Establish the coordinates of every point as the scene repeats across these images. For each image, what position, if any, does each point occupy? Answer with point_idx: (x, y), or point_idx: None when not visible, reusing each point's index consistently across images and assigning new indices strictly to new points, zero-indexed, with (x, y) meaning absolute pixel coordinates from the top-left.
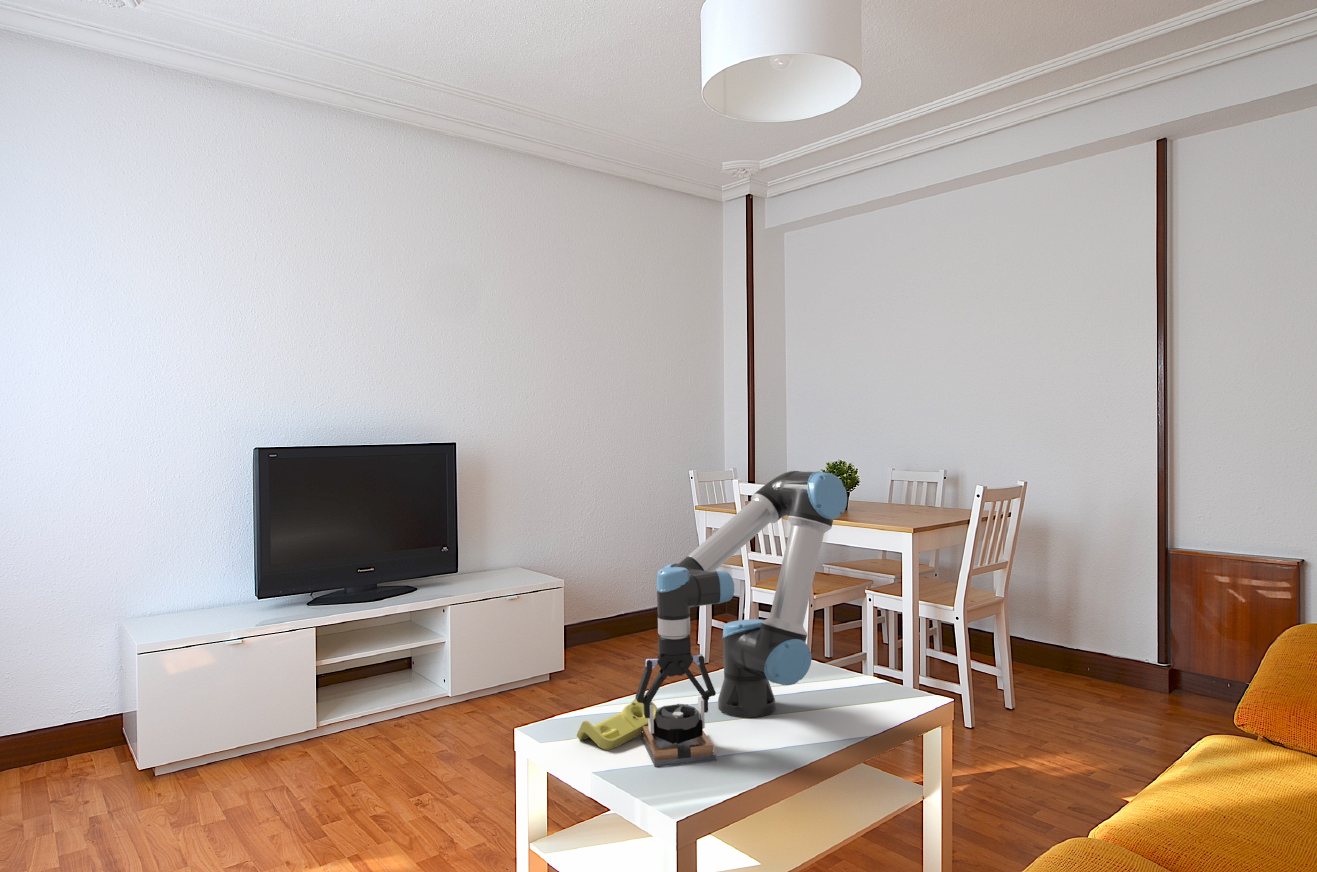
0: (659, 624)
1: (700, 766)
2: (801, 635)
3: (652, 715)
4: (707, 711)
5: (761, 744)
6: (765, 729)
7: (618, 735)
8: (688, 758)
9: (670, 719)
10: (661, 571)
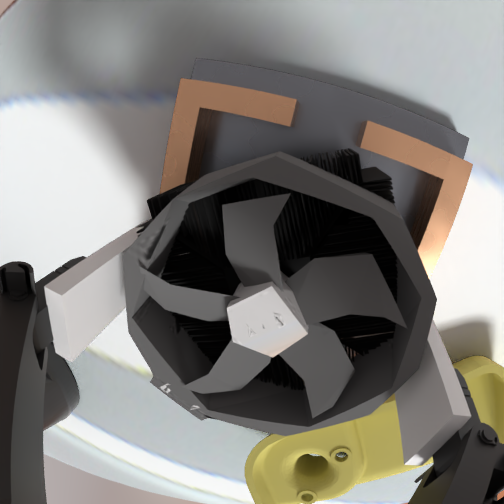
0: None
1: (292, 35)
2: None
3: (440, 362)
4: (79, 257)
5: (35, 140)
6: (9, 234)
7: None
8: (324, 82)
9: (403, 223)
10: None
